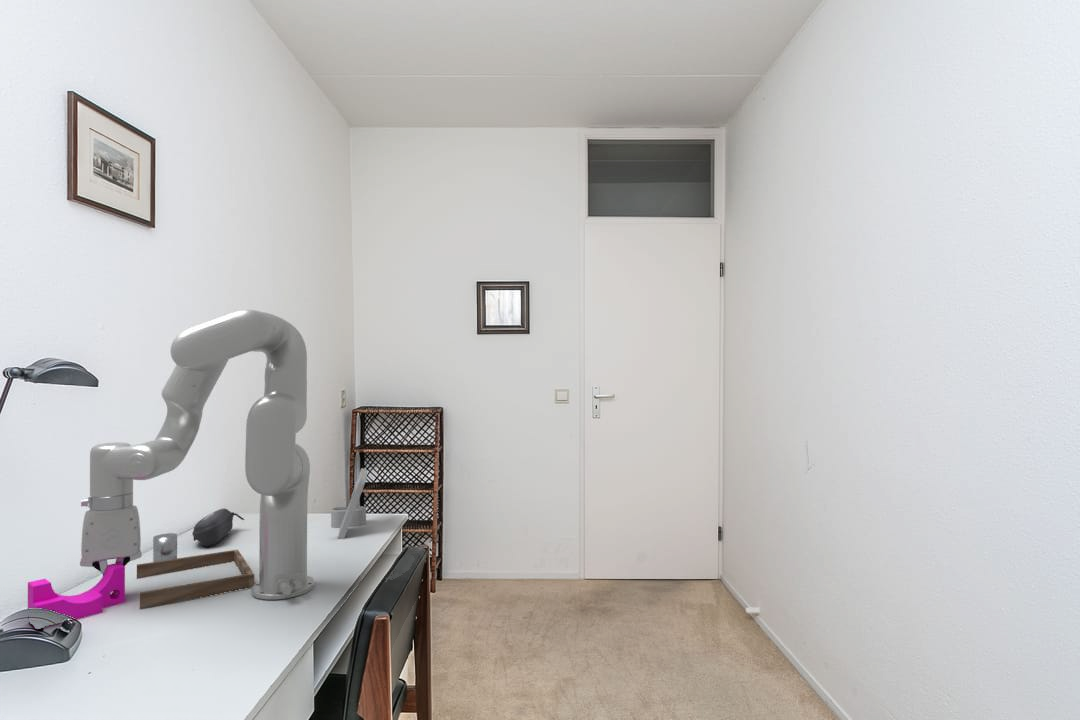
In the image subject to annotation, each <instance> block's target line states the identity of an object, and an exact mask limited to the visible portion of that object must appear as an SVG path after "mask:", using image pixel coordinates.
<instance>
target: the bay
mask: <svg viewBox="0 0 1080 720" xmlns="http://www.w3.org/2000/svg"><path fill="white" fill-rule="evenodd" d="M232 561H234V562H235V563H234V565H235V566H236V567H238V568H237V570H238V569H239V570H238V571H239V573H240V572H241V573H240V574H239V575H233V576H228V577H224V578H223V577H222V578H216V579H211V580H205V581H204V580H203V581H199V582H194V583H193V582H192V583H187V584H181V585H176V586H169V587H163V588H157V589H153V590H145V591H141V592H139V610H142V609H147V608H152V607H153V608H154V607H159V606H163V605H169V604H174V603H180V602H185V600H186V601H191V600H190V599H192V600H196V599H195V598H197V599H201V598H200V597H203V598H207V597H206V596H208V597H211V596H210V595H213V596H216V595H215V594H218V595H221V594H220V593H223V594H225V593H224V592H228V593H230V592H229V591H233V592H236V591H235V590H238V591H240V590H239V589H243V590H246V589H245V588H248V589H252V588H251V587H252V586H253V585H255V573H254V572H253V570H252V569H251V567H250V566H249V564H248V563H247V561H246V560H245V558H244V557H243V555H242V553H241V552H240V551H239V549H231V550H225V551H218V552H212V553H211V552H210V553H206V554H199V555H191V556H185V557H179V558H178V557H177V559H171V560H164V561H157V562H153V561H152V562H145V563H140V564H136V579H143V578H149V577H150V578H151V577H154V576H155V577H156V576H161V575H167V574H171V573H177V572H183V571H188V569H189V570H194V568H195V569H199V568H205V566H206V567H210V566H211V565H212V566H216V565H217V566H218V565H221V564H222V563H223V564H227V562H228V563H233V562H232ZM223 564H222V565H223ZM241 574H242V575H241Z"/></svg>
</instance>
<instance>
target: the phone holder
mask: <svg viewBox="0 0 1080 720" xmlns="http://www.w3.org/2000/svg"><path fill="white" fill-rule="evenodd" d="M367 479H368V470H367V469H366V468H363V467H362V468H360V471H359V474H358V476H357V478H356V480H355V481H356V482H355V485H354V487H353V491H352V494H351V497H350V501H349V503H348V506H340V507H339V506H338V507H334V508H331V510H330V511H331V512H330V514H331V515H330V519H331V520H330V528H332V529H339V530H338V536H337V540H344V539H346V535H347V532H348V530H349V528H355V527H363V526H366V525H367V508H366V506H361V505H360V506H359V505H358V503H359V500H360V498H361V495H362V492H363V489H364V487H365V484H366V481H367Z"/></svg>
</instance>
